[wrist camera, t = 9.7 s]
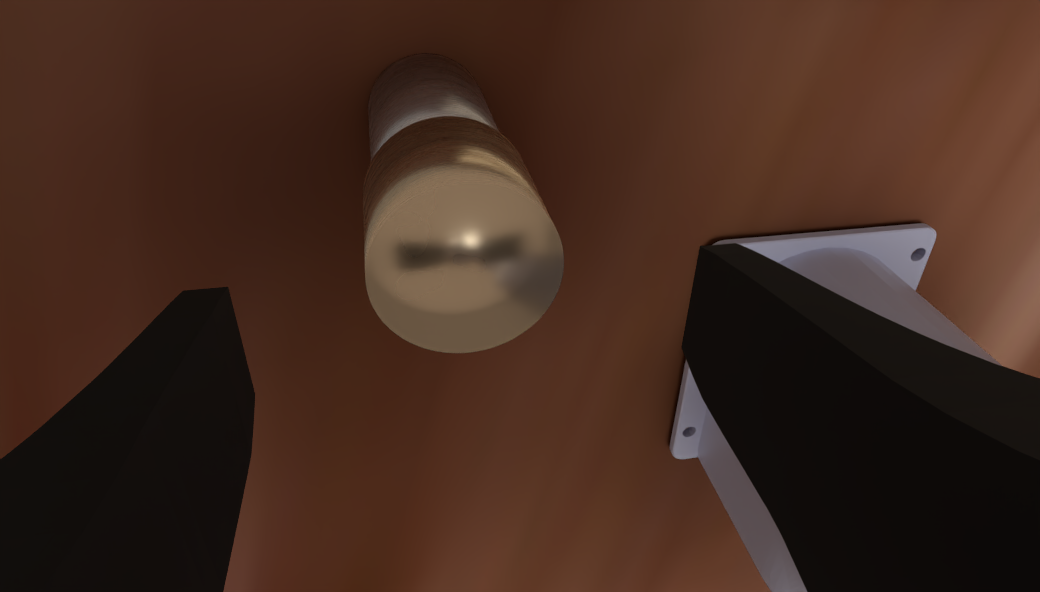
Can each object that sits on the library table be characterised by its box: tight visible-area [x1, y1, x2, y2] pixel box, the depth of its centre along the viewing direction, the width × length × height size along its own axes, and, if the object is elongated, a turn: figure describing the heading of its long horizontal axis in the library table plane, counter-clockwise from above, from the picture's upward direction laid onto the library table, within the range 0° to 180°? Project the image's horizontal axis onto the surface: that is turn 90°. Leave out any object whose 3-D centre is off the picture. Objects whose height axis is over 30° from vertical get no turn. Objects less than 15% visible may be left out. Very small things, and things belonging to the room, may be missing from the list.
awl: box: [363, 53, 564, 353], centre depth 16 cm, size 3×3×8 cm
